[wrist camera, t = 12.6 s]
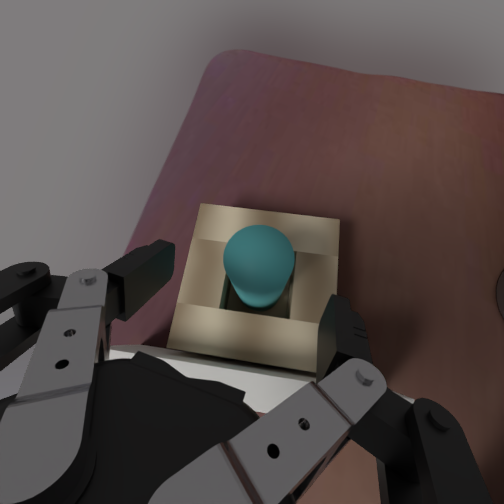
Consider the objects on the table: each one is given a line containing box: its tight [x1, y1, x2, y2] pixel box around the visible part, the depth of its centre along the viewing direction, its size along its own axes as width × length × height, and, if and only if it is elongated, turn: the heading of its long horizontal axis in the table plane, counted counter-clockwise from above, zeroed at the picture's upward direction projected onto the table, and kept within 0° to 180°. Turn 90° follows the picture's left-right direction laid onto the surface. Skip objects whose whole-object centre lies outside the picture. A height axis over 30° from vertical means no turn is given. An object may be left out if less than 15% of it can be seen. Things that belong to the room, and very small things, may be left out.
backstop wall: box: [109, 345, 414, 413], centre depth 19 cm, size 20×2×7 cm, turn 82°
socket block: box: [166, 203, 340, 372], centre depth 22 cm, size 12×12×5 cm
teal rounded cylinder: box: [223, 225, 295, 311], centre depth 19 cm, size 4×4×10 cm
